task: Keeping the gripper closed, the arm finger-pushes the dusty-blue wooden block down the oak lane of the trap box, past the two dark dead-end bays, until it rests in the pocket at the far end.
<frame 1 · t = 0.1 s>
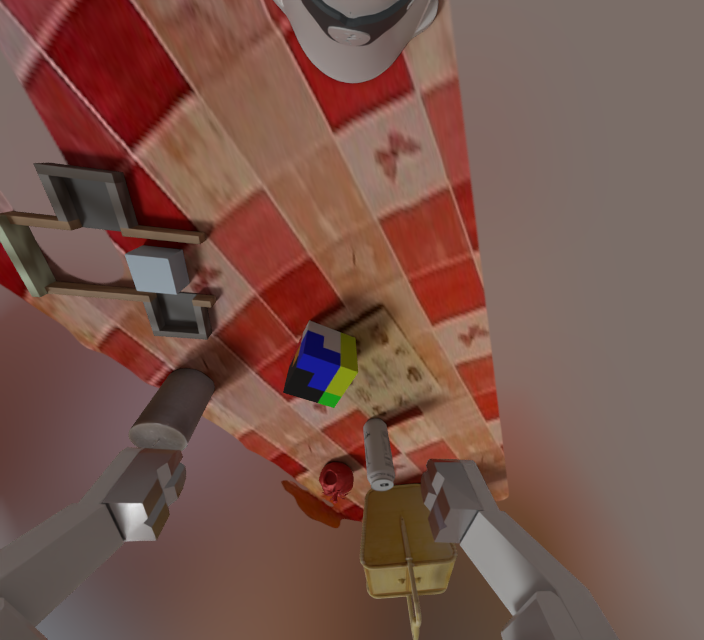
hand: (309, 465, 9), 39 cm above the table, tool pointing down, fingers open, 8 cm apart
puzzle toy: (323, 346, 56), on the table
picnic basket: (396, 502, 93), on the table
pillar candle: (193, 383, 60), on the table
pomegranate: (336, 466, 80), on the table
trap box: (128, 261, 44), on the table
energy drink can: (374, 423, 70), on the table
block: (167, 264, 45), resting in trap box
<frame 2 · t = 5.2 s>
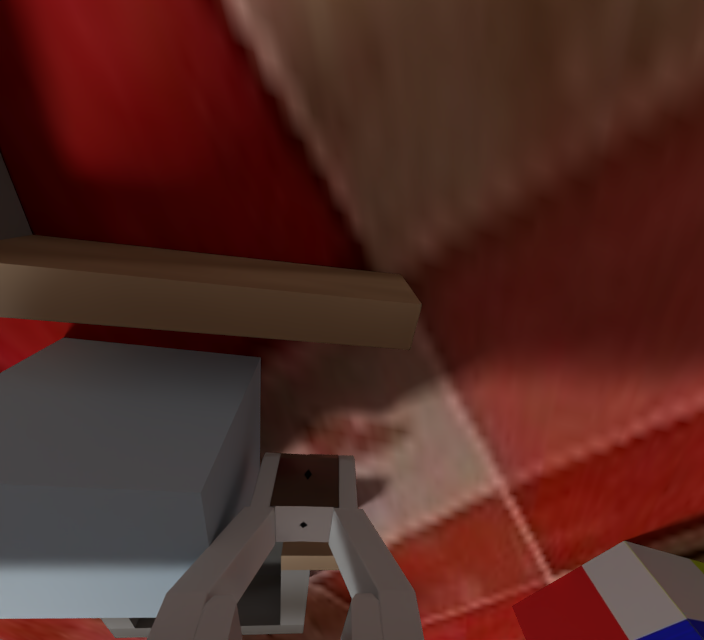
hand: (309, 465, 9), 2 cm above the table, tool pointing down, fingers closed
puzzle toy: (607, 582, 20), on the table
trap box: (3, 405, 9), on the table
block: (178, 413, 10), resting in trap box, touching gripper
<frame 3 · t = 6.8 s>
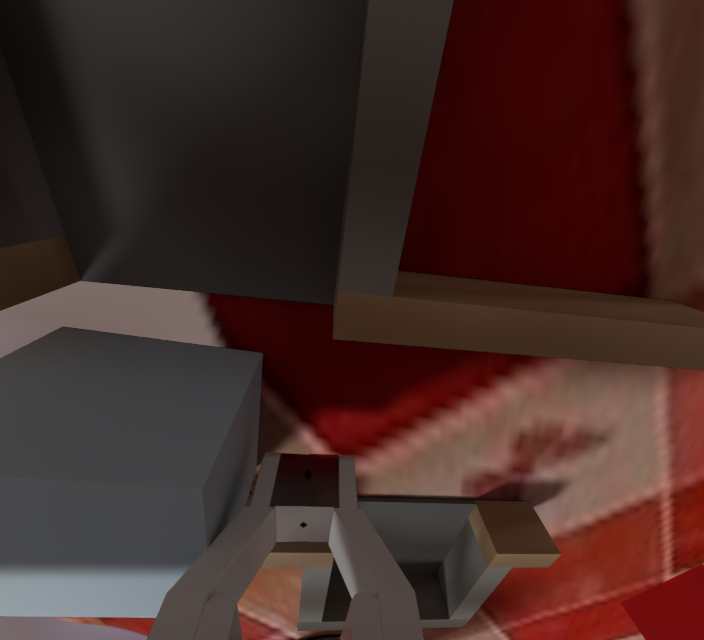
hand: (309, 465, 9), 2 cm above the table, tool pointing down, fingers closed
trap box: (269, 416, 10), on the table
block: (176, 409, 10), resting in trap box, touching gripper
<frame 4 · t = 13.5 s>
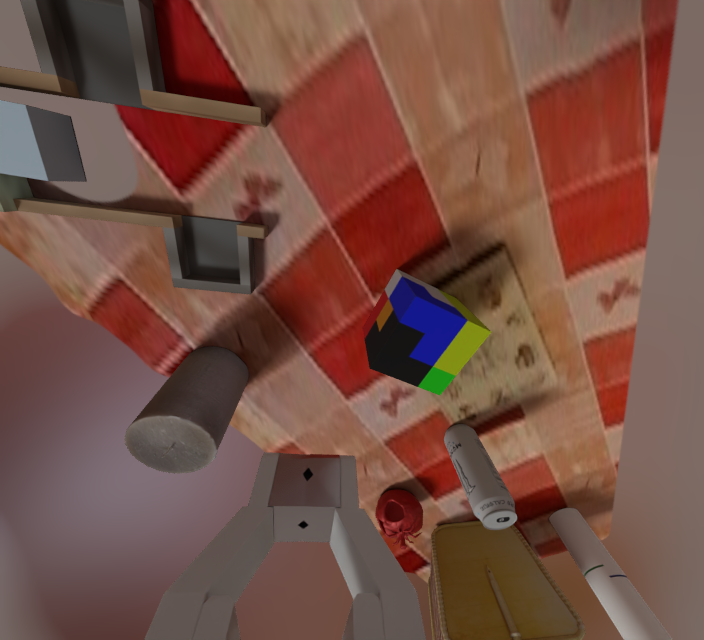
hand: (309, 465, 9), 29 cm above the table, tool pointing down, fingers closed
puzzle toy: (408, 312, 39), on the table
picnic basket: (464, 545, 71), on the table
pillar candle: (219, 370, 42), on the table
pomegranate: (395, 496, 60), on the table
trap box: (146, 163, 29), on the table
cylindrical container: (563, 515, 67), on the table
energy drink can: (457, 432, 51), on the table
block: (48, 145, 28), resting in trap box
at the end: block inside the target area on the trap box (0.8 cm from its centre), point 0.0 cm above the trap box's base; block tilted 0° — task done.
